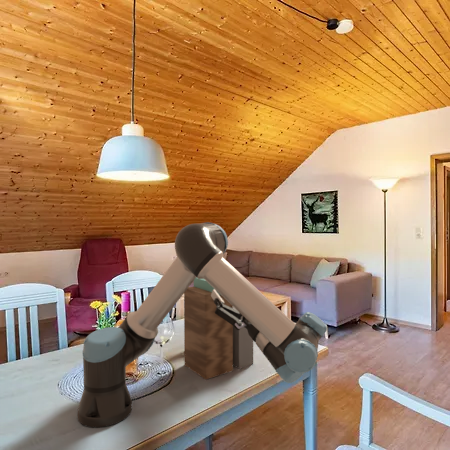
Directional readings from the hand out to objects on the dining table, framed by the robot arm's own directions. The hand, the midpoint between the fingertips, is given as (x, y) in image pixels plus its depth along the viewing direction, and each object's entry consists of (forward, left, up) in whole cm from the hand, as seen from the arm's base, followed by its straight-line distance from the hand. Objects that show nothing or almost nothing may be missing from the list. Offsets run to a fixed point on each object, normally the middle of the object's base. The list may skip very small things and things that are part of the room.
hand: (228, 290), depth 123 cm
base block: (+12, +11, -32) cm, 36 cm away
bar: (0, +8, -2) cm, 8 cm away
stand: (0, +13, -32) cm, 34 cm away
